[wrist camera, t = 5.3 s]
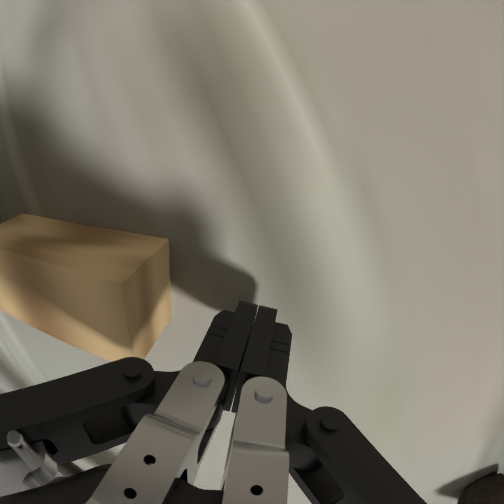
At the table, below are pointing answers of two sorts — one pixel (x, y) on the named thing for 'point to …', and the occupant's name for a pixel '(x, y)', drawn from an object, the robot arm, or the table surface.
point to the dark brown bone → (484, 491)
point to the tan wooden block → (86, 284)
